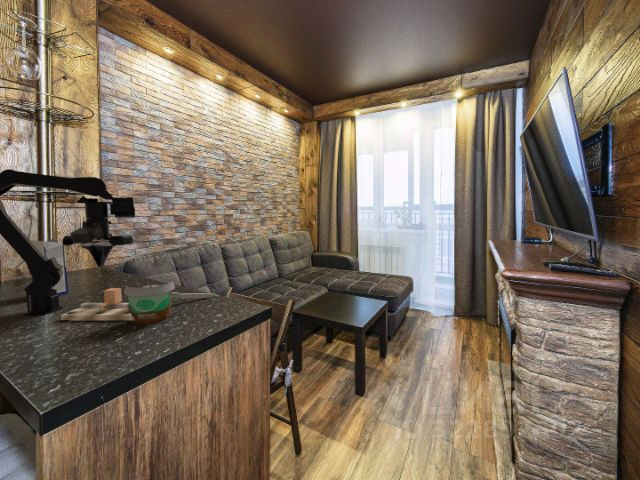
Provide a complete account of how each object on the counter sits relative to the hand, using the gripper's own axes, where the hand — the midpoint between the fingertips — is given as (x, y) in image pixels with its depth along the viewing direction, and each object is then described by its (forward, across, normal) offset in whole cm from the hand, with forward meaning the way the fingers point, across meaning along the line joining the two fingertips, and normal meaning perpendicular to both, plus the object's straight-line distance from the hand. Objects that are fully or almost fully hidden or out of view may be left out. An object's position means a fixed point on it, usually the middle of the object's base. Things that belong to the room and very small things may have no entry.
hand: (100, 266), depth 96 cm
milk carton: (+12, -25, +10) cm, 29 cm away
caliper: (+12, +27, +1) cm, 30 cm away
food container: (+12, +24, -16) cm, 32 cm away
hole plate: (+12, +9, -10) cm, 18 cm away
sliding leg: (+10, +9, -10) cm, 17 cm away
